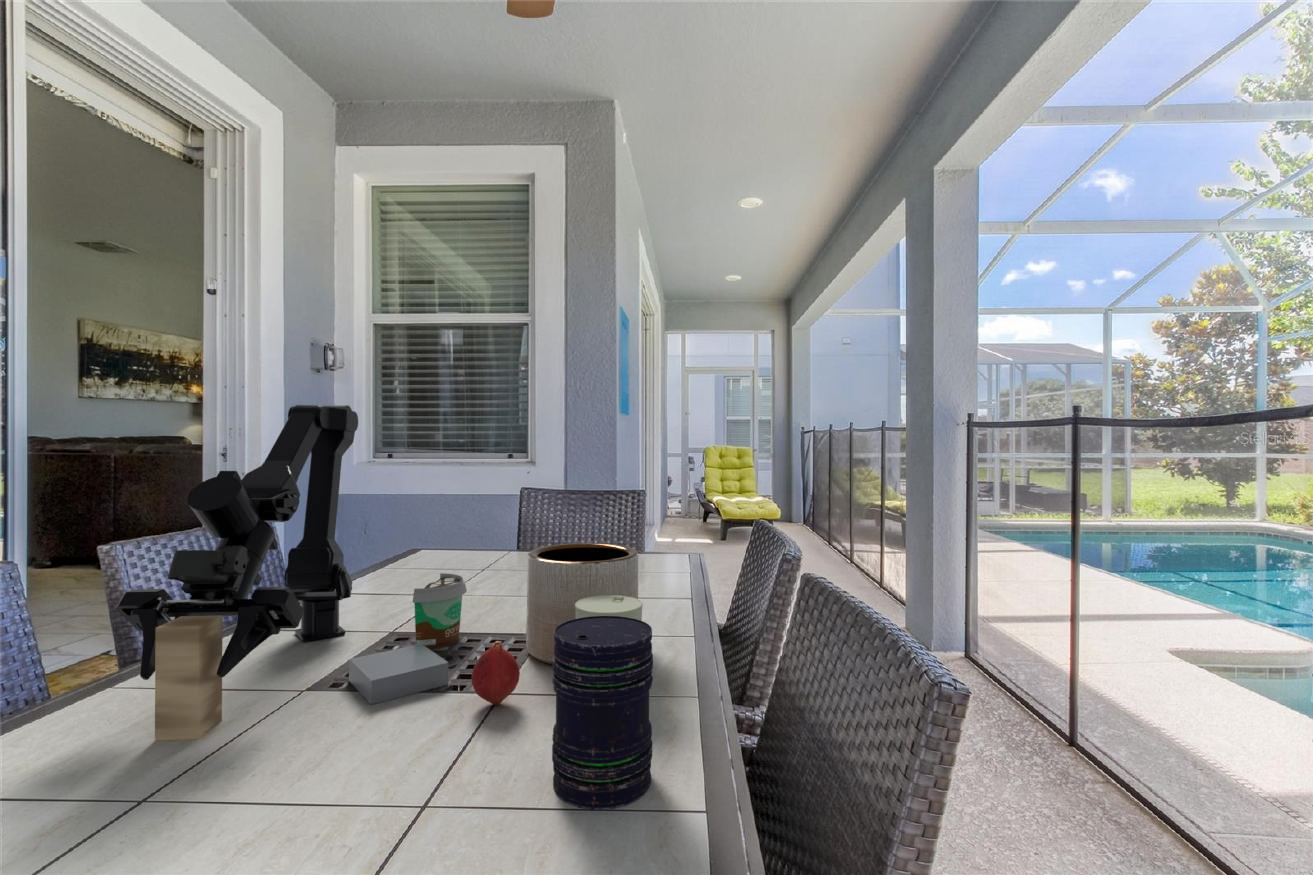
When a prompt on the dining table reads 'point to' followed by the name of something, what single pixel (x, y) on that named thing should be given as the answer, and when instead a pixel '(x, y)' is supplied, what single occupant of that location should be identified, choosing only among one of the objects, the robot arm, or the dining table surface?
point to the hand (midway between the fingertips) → (182, 677)
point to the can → (609, 606)
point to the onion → (495, 674)
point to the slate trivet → (397, 673)
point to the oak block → (188, 677)
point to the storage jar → (602, 711)
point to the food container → (439, 611)
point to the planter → (572, 586)
